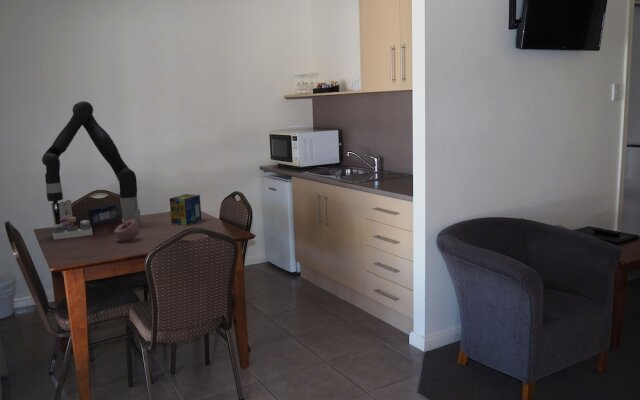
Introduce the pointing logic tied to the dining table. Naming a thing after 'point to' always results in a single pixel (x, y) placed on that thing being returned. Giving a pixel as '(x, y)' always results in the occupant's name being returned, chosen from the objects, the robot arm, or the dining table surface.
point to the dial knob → (71, 220)
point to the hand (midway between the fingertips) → (58, 223)
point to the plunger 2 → (84, 222)
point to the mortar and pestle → (127, 230)
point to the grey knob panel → (72, 232)
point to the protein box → (185, 209)
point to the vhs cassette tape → (102, 215)
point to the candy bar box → (64, 212)
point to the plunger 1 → (58, 226)
